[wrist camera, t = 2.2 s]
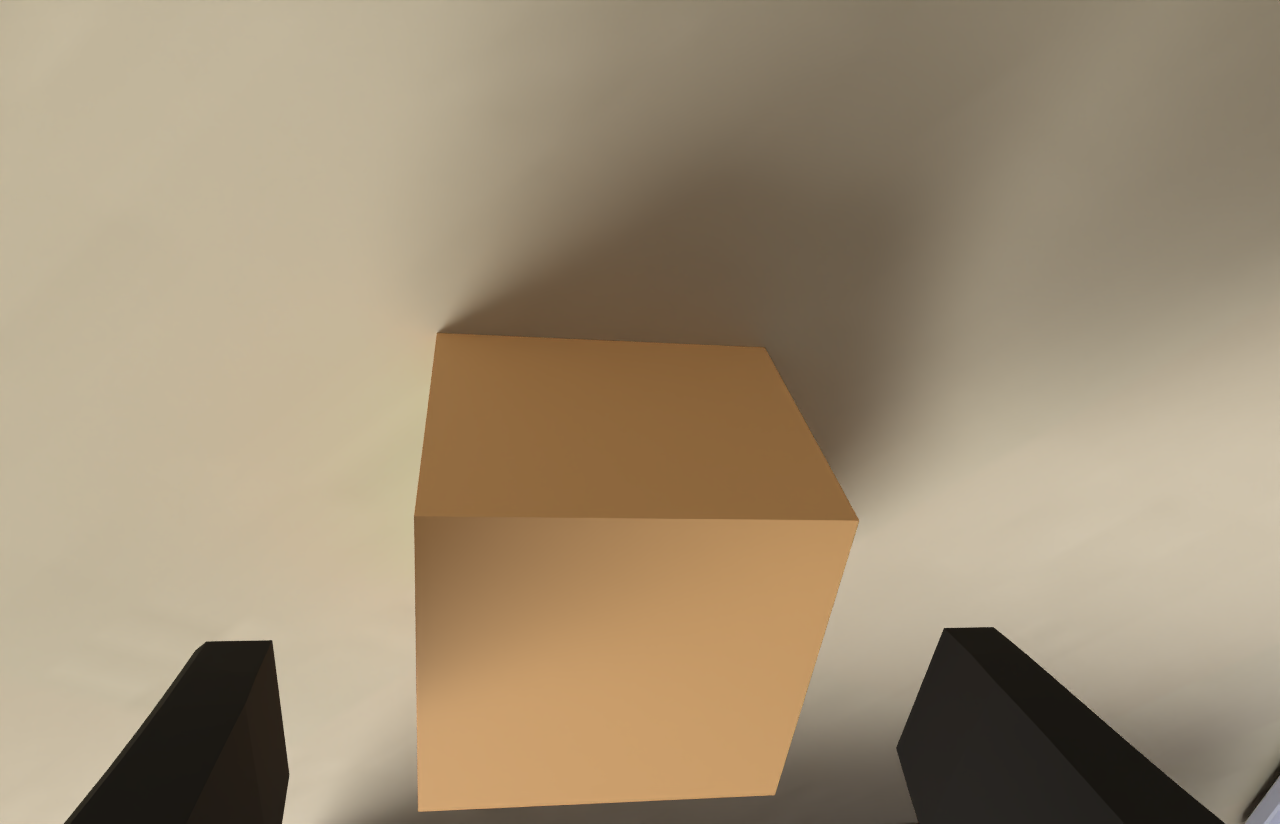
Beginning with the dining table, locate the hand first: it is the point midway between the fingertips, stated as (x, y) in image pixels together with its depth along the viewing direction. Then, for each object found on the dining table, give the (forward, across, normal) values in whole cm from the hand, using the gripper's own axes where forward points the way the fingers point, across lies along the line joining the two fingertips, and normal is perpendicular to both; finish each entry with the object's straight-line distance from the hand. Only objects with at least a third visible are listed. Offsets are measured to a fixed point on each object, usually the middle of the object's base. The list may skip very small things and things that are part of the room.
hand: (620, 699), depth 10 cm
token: (+4, 0, 0) cm, 4 cm away
